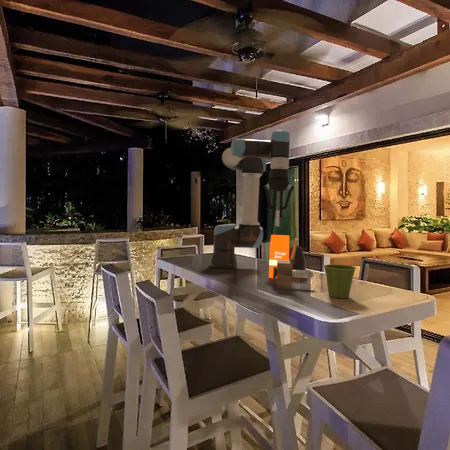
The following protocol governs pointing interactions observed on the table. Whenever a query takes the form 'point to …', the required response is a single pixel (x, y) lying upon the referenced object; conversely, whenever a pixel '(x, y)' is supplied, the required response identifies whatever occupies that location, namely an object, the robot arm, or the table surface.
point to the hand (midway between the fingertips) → (277, 226)
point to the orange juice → (278, 251)
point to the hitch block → (284, 273)
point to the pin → (296, 273)
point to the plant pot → (339, 280)
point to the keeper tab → (294, 248)
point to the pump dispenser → (298, 258)
